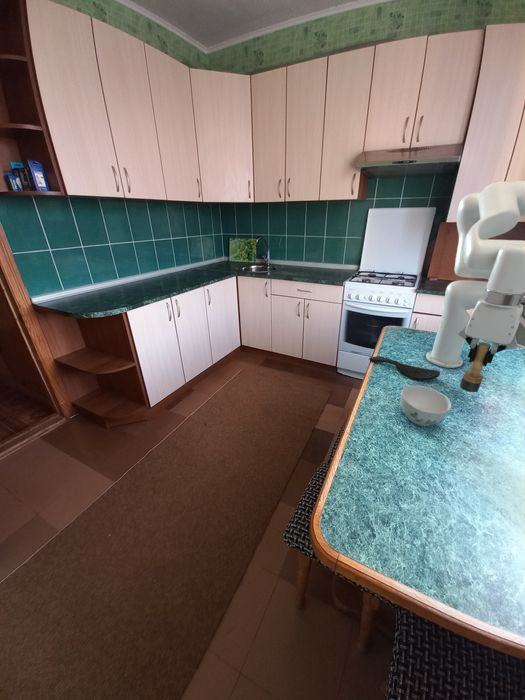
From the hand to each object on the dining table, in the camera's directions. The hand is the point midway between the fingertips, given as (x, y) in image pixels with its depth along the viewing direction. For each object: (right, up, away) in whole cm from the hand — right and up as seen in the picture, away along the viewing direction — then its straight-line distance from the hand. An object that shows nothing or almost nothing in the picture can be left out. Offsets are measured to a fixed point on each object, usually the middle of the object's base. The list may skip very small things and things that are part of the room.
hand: (478, 361), depth 80 cm
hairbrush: (-7, -4, +30) cm, 31 cm away
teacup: (-13, -17, +6) cm, 22 cm away
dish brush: (0, -8, +4) cm, 9 cm away
